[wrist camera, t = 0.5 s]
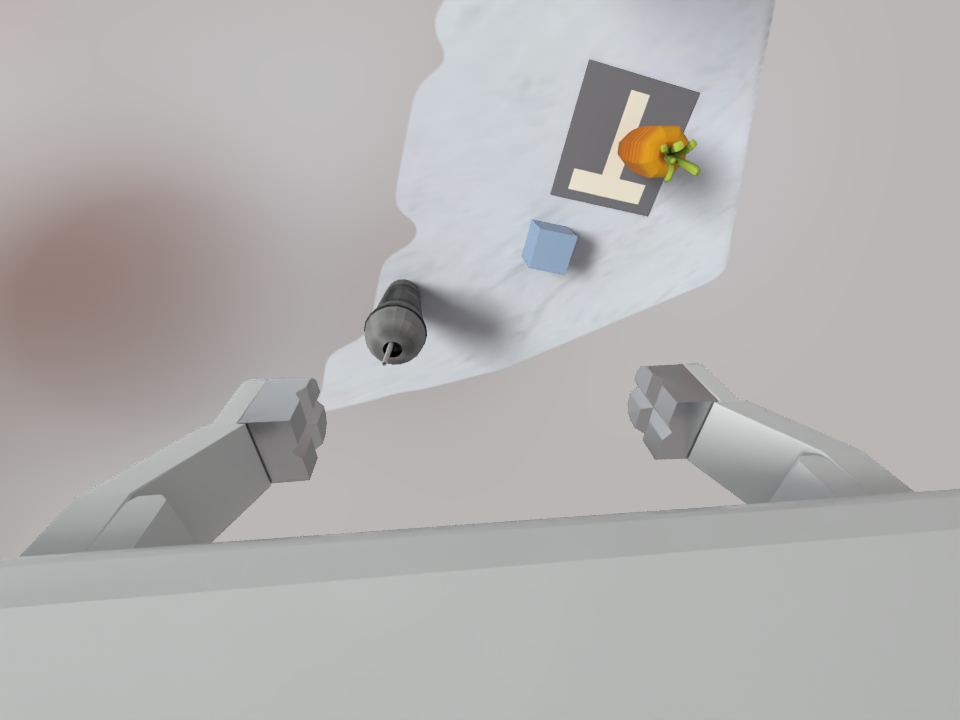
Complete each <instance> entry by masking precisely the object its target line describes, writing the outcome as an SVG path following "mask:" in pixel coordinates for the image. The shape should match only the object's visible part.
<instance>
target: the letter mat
mask: <svg viewBox="0 0 960 720" xmlns="http://www.w3.org/2000/svg"><path fill="white" fill-rule="evenodd" d="M699 94H700V93H699V92H695V91H692V90H689V89H685V88H682V87H679V86H675V85H672V84H669V83H666V82H662V81H659V80H656V79H652V78H649V77H646V76H642V75H639V74H636V73H633V72H629V71H626V70H623V69H619V68H616V67H613V66H609V65H606V64H603V63H600V62H596V61H593V60H589V62H588V66H587V69H586V73H585V76H584V80H583V83H582V87H581V90H580V94H579V97H578V100H577V104H576V107H575V111H574V114H573V118H572V121H571V125H570V128H569V132H568V135H567V139H566V142H565V146H564V149H563V153H562V156H561V160H560V163H559V166H558V170H557V173H556V177H555V180H554V184H553V187H552V191H551V195H556V196H560V197H565V198H569V199H574V200H578V201H583V202H587V203H591V204H596V205H600V206H605V207H609V208H614V209H618V210H623V211H627V212H632V213H636V214H640V215H645V216H648V214H649V211H650V209H651V207H652V204H653V202H654V200H655V197H656V195H657V193H658V190H659V188H660V186H661V183H662V181H663V178H664V177H659V178H647V177H644V176H641V175H639V174H637V173H634V172H632V171H631V170H630V169H629V168H628V167H627V166H626V165H625V164H624V162H623V161H622V160H621V158H620V157H619V156H618V146H619V142H620V141H621V140H622V139H623V138H624V137H625V136H626V135H627V134H628V133H629V132H630V131H632V130H634V129H636V128H639V127H644V126H667V125H677V126H679V127H680V128H681V130H682V131H684V129H685V127H686V124H687V122H688V119H689V117H690V115H691V112H692V110H693V108H694V105H695V103H696V101H697V98H698V96H699Z"/></svg>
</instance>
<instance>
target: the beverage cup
mask: <svg viewBox="0 0 960 720" xmlns="http://www.w3.org/2000/svg"><path fill="white" fill-rule="evenodd" d="M364 332H365V340H366V345H367V347H368V348H369V350H370V352H371V353H372V354H373V355H374V356H375V357H376V358H377V359H378V360H380V361H382V365H383V366H386V365H387V363H388V364H393V365H394V364H403V363H406V362H408V361H410V360H412V359H413V358H415V357H416V356H417V355H418V353H419V352H420V351H421V349H422V348H423V345H424V344H425V341H426V337H427V330H426V325H425V323H424V320H423V318H422V311H421V302H420V295H419V291H418V289H417V287H416V286H415V285H414V283H412V282H410V281H408V280H397V281H394V282H393V283H392V284H391V285H390V286H389V288H388V289H387V291H386V292H385V294H384V296H383V298H382V299H381V301H380V303H379V305H378V307H377V308H376V309H375V310H374V311H373V312H372V313H371V314H370V315H369V317H368V318H367V320H366V322H365V328H364Z"/></svg>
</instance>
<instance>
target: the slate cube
mask: <svg viewBox="0 0 960 720" xmlns="http://www.w3.org/2000/svg"><path fill="white" fill-rule="evenodd" d="M577 238H578V236H577V235H576V234H575V233H573V232H572V231H571V230H570V229H569V228H568V227H565V226H560V225H556V224H551V223H546V222H541V221H536V220H532V221H531V225H530V228H529V232H528V236H527V239H526V243H525V247H524V250H523V254H522V257H523V259H524V260H525V262H526V264H527V265H528V267H529V268H532V269H538V270H543V271H549V272H554V273H560V274H565V273H566V270H567V267H568V264H569V261H570V259H571V256H572V253H573V250H574V247H575V244H576V241H577Z"/></svg>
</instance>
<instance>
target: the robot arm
mask: <svg viewBox="0 0 960 720" xmlns="http://www.w3.org/2000/svg"><path fill="white" fill-rule="evenodd" d="M635 381H636V383H637V385H638V386H637V387H636V389H634V390H633V391H632V392H631V393H630V397H629V400H628V414H629V417H630V420H631V422H632V424H633V425H634V427H635V428H636V429H638V430H640V431H641V432H643V433H644V437H643V441H644V443H645V445H646V446H647V448H648V449H649V451H650V452H651V454H652V456H653V457H654V459H655V460H657V459H688V461H690V462H691V463H692V464H694V465H695V466H696V467H698V468H699V469H700V470H702V471H703V472H704V473H706V474H707V475H708V476H710V477H711V478H713V479H714V480H715V481H717V482H718V483H719V484H721V485H722V486H723V487H725V488H726V489H728V490H729V491H730V492H732V493H733V494H734V495H736V496H737V497H739V498H740V499H741V500H742V501H744V502H745V503H746V504H745V505H731V506H717V507H704V508H690V509H676V510H661V511H647V512H633V513H619V514H606V515H592V516H577V517H564V518H551V519H550V518H549V519H535V520H523V521H522V520H521V521H508V522H494V523H481V524H466V525H454V526H453V525H452V526H438V527H425V528H411V529H397V530H383V531H370V532H356V533H342V534H328V535H314V536H300V537H288V538H273V539H260V540H259V539H258V540H245V541H231V542H218V543H211V542H213V541H214V540H215V539H216V538H217V537H218V536H219V535H220V534H221V533H222V532H223V531H224V530H225V529H226V528H227V527H228V526H229V525H230V524H231V523H232V522H233V521H235V520H236V519H237V518H238V517H239V516H240V515H241V514H242V513H243V512H244V511H245V510H246V509H247V508H248V507H249V506H250V505H251V504H252V503H253V502H254V501H255V500H256V499H257V498H259V496H261V495H262V494H263V493H264V492H265V491H266V490H267V489H268V488H269V487H270V486H271V483H281V482H292V481H305V480H310V478H311V475H312V472H313V469H314V467H315V464H316V461H317V458H318V457H317V454H316V451H315V449H317V448H318V447H319V446H320V445H322V444H323V441H324V438H325V434H326V424H327V422H326V413H325V409H324V406H323V405H322V404H320V403H319V402H318V401H317V398H318V396H319V393H320V390H319V387H318V384H317V381H316V380H315V379H314V378H279V379H278V378H276V379H249V380H246V381H244V382H243V383H242V384H241V385H240V387H239V388H238V389H237V391H236V392H235V394H234V395H233V396H232V398H231V399H230V400H229V402H228V403H227V404H226V406H225V407H224V408H223V410H222V411H221V412H220V414H219V415H218V417H217V418H216V419H215V421H214V422H213V424H212V425H204V426H202V427H200V428H198V429H197V430H195V431H193V432H191V433H190V434H188V435H186V436H184V437H182V438H181V439H179V440H177V441H176V442H174V443H172V444H170V445H168V446H166V447H165V448H163V449H161V450H159V451H158V452H156V453H154V454H152V455H150V456H149V457H147V458H145V459H143V460H142V461H140V462H138V463H136V464H134V465H133V466H131V467H129V468H127V469H126V470H124V471H122V472H120V473H118V474H117V475H115V476H113V477H111V478H110V479H108V480H106V481H104V482H102V483H101V484H99V485H97V486H95V487H94V488H92V489H90V490H88V491H86V492H85V493H83V494H81V495H79V496H78V497H76V498H74V500H73V501H72V502H71V503H70V504H69V505H68V506H67V507H66V508H65V509H64V510H63V511H62V512H61V513H60V514H59V515H58V516H57V517H56V519H55V520H54V521H53V522H52V523H51V524H50V525H49V526H48V527H47V528H46V529H45V530H44V531H43V532H42V533H41V534H40V535H39V536H38V538H37V539H36V540H35V541H34V542H33V543H32V544H31V545H30V546H29V547H28V548H27V549H26V550H25V551H24V552H23V553H22V554H21V555H20V557H9V558H0V720H960V489H953V490H938V491H924V492H914V491H913V490H911V489H910V488H909V487H908V486H906V485H905V484H904V483H903V482H901V481H900V480H899V479H898V478H896V477H895V476H894V475H892V474H891V473H890V472H889V471H888V470H886V469H885V468H884V467H883V466H881V465H880V464H879V463H878V462H876V461H875V460H874V459H873V458H871V457H870V456H869V455H868V454H866V453H865V452H864V451H862V450H860V449H857V448H855V447H853V446H851V445H848V444H846V443H843V442H841V441H839V440H837V439H834V438H832V437H830V436H828V435H825V434H823V433H821V432H818V431H816V430H814V429H811V428H809V427H807V426H804V425H802V424H800V423H797V422H795V421H793V420H791V419H788V418H786V417H784V416H781V415H779V414H777V413H775V412H772V411H770V410H767V409H765V408H763V407H760V406H758V405H756V404H754V403H751V402H749V401H747V400H745V401H741V400H739V398H737V397H736V396H735V395H734V394H733V393H732V392H731V391H730V390H729V389H728V388H727V387H726V386H725V385H724V384H723V383H721V382H720V381H719V380H718V379H717V378H716V377H715V376H714V375H713V374H712V373H711V372H710V371H709V370H708V369H706V367H705V366H704V365H702V364H699V363H687V364H678V365H659V366H641V367H640V368H639V370H638V371H637V373H636V376H635Z"/></svg>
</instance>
